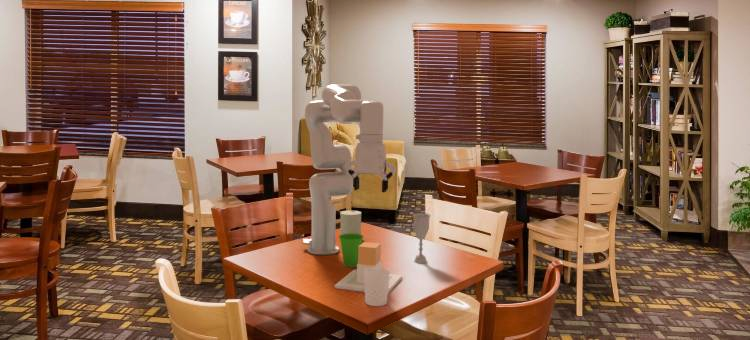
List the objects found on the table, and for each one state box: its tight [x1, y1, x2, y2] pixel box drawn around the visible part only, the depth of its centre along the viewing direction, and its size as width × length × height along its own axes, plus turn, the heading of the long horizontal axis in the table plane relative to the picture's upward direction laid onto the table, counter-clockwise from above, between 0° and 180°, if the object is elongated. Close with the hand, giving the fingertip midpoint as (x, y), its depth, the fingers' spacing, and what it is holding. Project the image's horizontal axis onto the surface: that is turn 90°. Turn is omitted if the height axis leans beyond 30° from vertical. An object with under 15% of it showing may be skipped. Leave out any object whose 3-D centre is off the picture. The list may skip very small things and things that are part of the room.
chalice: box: [412, 212, 432, 264], centre depth 232 cm, size 7×7×18 cm
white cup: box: [364, 267, 391, 307], centre depth 188 cm, size 8×8×10 cm
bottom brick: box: [356, 259, 383, 283], centre depth 206 cm, size 6×8×6 cm
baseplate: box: [334, 269, 403, 294], centre depth 207 cm, size 18×18×1 cm
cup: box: [338, 233, 364, 268], centre depth 226 cm, size 9×9×11 cm
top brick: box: [358, 241, 382, 266], centre depth 206 cm, size 6×6×6 cm
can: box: [339, 209, 362, 236], centre depth 265 cm, size 9×9×12 cm
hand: (370, 190), depth 203 cm, fingers open, 9 cm apart
